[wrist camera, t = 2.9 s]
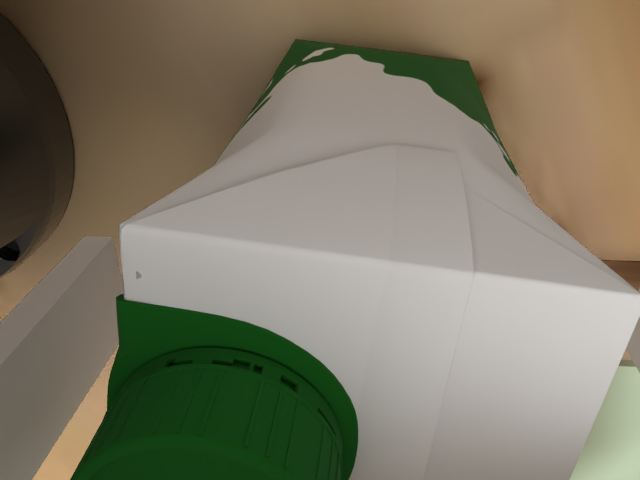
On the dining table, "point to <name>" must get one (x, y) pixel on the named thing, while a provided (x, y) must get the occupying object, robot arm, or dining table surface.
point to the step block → (616, 415)
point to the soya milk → (358, 296)
